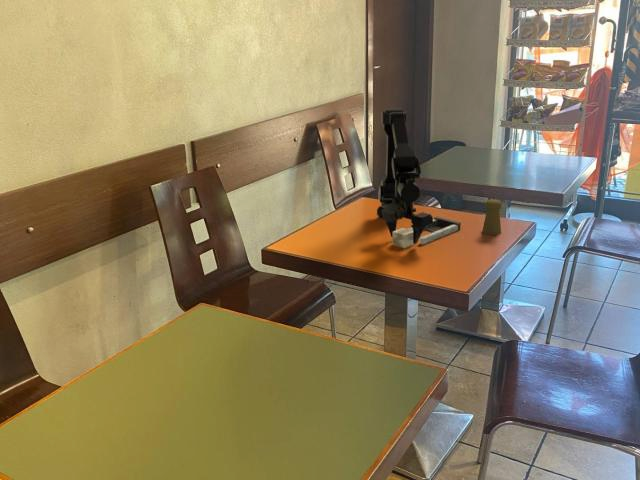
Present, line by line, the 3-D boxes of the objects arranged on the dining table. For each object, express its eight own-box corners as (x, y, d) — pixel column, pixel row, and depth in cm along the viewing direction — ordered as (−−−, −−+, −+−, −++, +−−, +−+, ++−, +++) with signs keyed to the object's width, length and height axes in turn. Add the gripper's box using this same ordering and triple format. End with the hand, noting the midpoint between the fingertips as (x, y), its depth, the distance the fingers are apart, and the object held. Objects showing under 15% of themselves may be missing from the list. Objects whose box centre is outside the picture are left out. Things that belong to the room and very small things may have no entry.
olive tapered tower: (501, 235, 204) (503, 203, 200) (482, 234, 205) (484, 202, 201) (500, 229, 209) (502, 197, 206) (481, 228, 211) (483, 197, 207)
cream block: (392, 244, 199) (392, 231, 198) (402, 240, 202) (402, 227, 201) (404, 248, 196) (404, 235, 194) (414, 244, 199) (414, 231, 197)
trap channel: (399, 237, 205) (399, 230, 204) (436, 223, 217) (436, 216, 217) (423, 244, 198) (423, 237, 197) (460, 229, 210) (460, 222, 210)
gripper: (364, 193, 195) (365, 240, 200) (411, 204, 182) (410, 254, 187) (388, 186, 202) (388, 231, 207) (434, 196, 189) (433, 244, 194)
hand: (403, 240), depth 199 cm, fingers open, 9 cm apart
